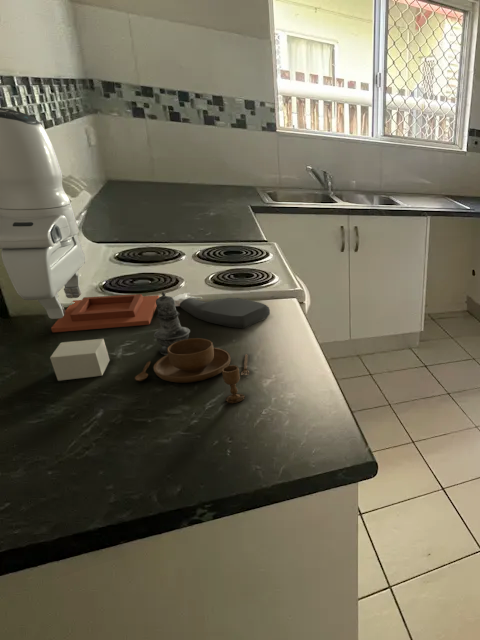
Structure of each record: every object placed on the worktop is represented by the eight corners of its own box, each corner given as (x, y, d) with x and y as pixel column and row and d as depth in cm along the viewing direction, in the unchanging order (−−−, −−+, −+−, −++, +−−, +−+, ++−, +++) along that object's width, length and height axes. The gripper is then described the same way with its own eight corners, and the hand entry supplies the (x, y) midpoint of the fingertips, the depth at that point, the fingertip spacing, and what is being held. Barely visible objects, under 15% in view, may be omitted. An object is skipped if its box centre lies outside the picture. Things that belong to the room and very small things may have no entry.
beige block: (57, 381, 80) (49, 357, 78) (68, 364, 85) (60, 342, 83) (102, 375, 83) (95, 352, 81) (109, 360, 88) (103, 338, 86)
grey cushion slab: (239, 331, 103) (152, 311, 109) (275, 315, 113) (193, 297, 118) (237, 319, 102) (149, 299, 108) (273, 303, 111) (191, 286, 117)
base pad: (52, 332, 95) (48, 321, 94) (74, 304, 108) (71, 294, 107) (149, 324, 102) (146, 313, 101) (159, 299, 115) (157, 289, 114)
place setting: (250, 350, 96) (246, 323, 94) (248, 401, 80) (243, 371, 78) (145, 360, 89) (137, 331, 86) (119, 419, 73) (109, 386, 70)
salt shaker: (162, 343, 95) (148, 287, 90) (196, 341, 97) (184, 286, 92) (153, 357, 90) (139, 298, 85) (189, 354, 92) (177, 296, 87)
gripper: (35, 210, 80) (60, 287, 86) (-17, 240, 64) (19, 332, 70) (82, 210, 83) (104, 285, 89) (44, 238, 67) (74, 327, 72)
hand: (66, 306), depth 79 cm, fingers open, 8 cm apart
